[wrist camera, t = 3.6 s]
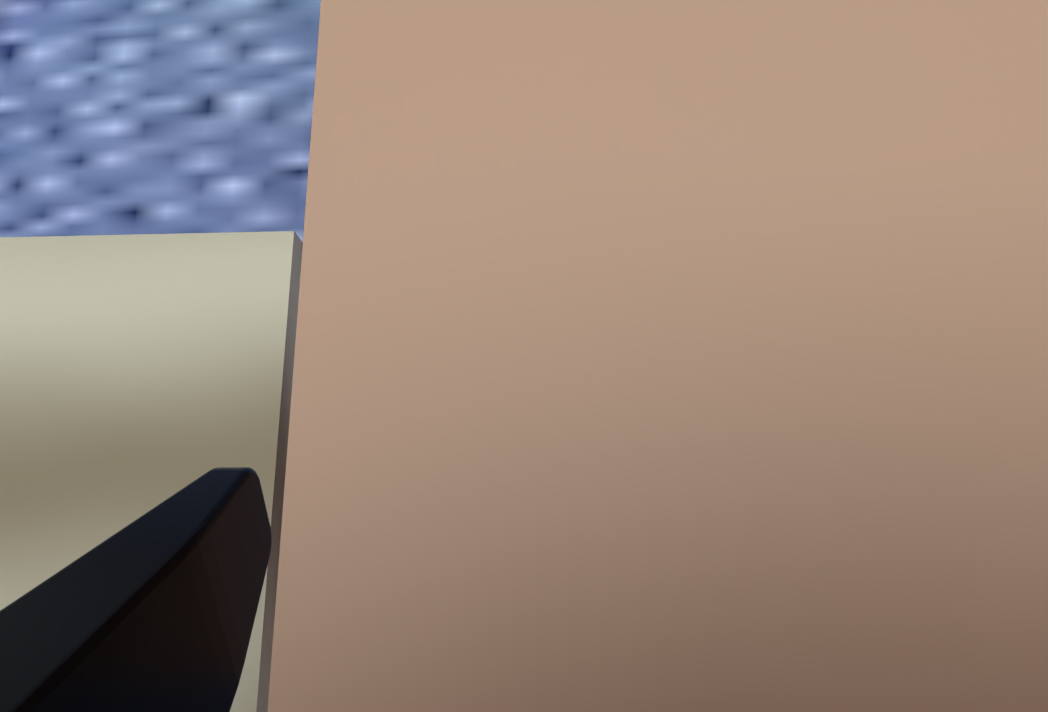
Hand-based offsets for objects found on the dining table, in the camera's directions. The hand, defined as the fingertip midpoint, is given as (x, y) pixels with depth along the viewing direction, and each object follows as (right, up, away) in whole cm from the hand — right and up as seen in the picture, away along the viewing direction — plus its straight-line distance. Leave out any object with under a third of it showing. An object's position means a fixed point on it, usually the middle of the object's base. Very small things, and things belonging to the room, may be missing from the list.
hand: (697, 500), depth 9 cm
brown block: (0, -2, +7) cm, 7 cm away
